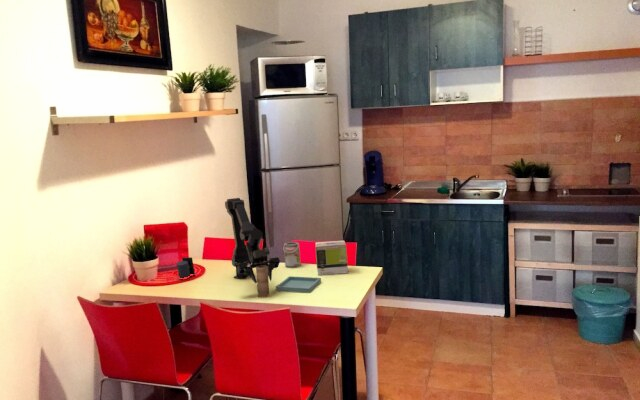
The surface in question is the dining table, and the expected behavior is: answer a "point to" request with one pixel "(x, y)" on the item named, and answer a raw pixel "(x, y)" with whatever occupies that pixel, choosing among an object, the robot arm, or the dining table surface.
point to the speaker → (185, 267)
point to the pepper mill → (262, 280)
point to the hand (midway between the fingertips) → (263, 281)
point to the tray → (298, 284)
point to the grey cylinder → (292, 254)
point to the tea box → (331, 257)
